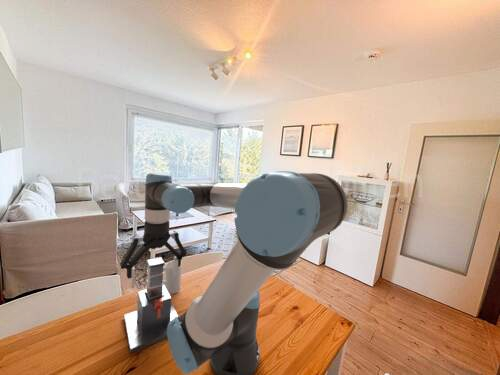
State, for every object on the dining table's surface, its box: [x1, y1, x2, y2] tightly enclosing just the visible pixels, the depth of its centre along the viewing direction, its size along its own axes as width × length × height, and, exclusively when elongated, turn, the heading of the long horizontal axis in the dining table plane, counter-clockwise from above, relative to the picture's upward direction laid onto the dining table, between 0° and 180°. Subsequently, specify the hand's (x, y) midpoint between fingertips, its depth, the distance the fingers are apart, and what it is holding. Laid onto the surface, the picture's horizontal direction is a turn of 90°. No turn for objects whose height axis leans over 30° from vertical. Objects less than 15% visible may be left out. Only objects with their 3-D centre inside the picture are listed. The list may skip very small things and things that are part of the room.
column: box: [146, 256, 166, 301], centre depth 71 cm, size 5×5×22 cm
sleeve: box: [123, 284, 179, 354], centre depth 72 cm, size 16×16×12 cm
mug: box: [163, 260, 183, 295], centre depth 92 cm, size 10×7×12 cm, turn 99°
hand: (154, 280), depth 71 cm, fingers open, 13 cm apart
